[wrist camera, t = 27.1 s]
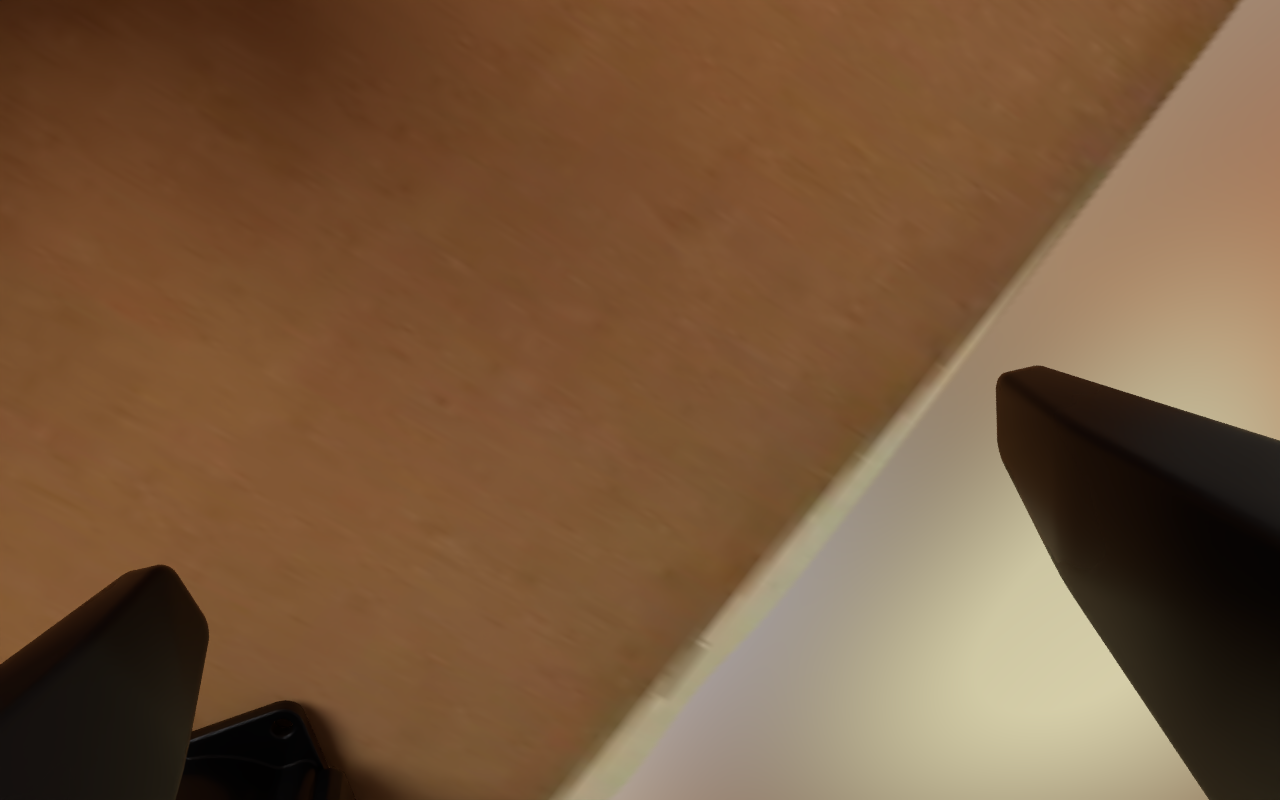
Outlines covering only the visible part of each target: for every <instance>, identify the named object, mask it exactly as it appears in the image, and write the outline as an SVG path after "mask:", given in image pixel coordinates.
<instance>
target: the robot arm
mask: <svg viewBox="0 0 1280 800" xmlns="http://www.w3.org/2000/svg"><path fill="white" fill-rule="evenodd" d="M996 411H997V442H998V448H999V452H1000V455H1001V459H1002V461H1003V463H1004V466H1005V467H1006V470H1007V471H1008V473H1009V475H1010V477H1011V479H1012V481H1013V483H1014V485H1015V487H1016V489H1017V491H1018V493H1019V495H1020V497H1021V499H1022V501H1023V503H1024V505H1025V507H1026V509H1027V511H1028V513H1029V515H1030V517H1031V519H1032V521H1033V523H1034V525H1035V527H1036V529H1037V531H1038V533H1039V535H1040V537H1041V539H1042V541H1043V543H1044V545H1045V547H1046V549H1047V551H1048V553H1049V555H1050V556H1051V559H1052V561H1053V563H1054V564H1055V566H1056V568H1057V570H1058V572H1059V574H1060V576H1061V577H1062V579H1063V581H1064V582H1065V584H1066V586H1067V587H1068V589H1069V590H1070V592H1071V594H1072V595H1073V597H1074V598H1075V600H1076V601H1077V603H1078V604H1079V606H1080V607H1081V609H1082V610H1083V612H1084V613H1085V615H1086V616H1087V618H1088V619H1089V621H1090V622H1091V624H1092V625H1093V627H1094V628H1095V630H1096V631H1097V633H1098V634H1099V636H1100V637H1101V639H1102V640H1103V642H1104V643H1105V645H1106V646H1107V648H1108V649H1109V651H1110V652H1111V654H1112V655H1113V657H1114V658H1115V660H1116V661H1117V663H1118V664H1119V666H1120V667H1121V669H1122V670H1123V672H1124V673H1125V675H1126V676H1127V678H1128V679H1129V681H1130V682H1131V684H1132V685H1133V687H1134V688H1135V690H1136V691H1137V693H1138V694H1139V696H1140V697H1141V699H1142V700H1143V701H1144V703H1145V704H1146V706H1147V708H1148V709H1149V711H1150V712H1151V714H1152V715H1153V717H1154V718H1155V719H1156V721H1157V723H1158V724H1159V726H1160V727H1161V728H1162V730H1163V731H1164V733H1165V735H1166V736H1167V737H1168V739H1169V741H1170V742H1171V744H1172V745H1173V747H1174V748H1175V749H1176V751H1177V752H1178V754H1179V755H1180V757H1181V758H1182V760H1183V761H1184V763H1185V764H1186V766H1187V767H1188V769H1189V770H1190V772H1191V773H1192V775H1193V776H1194V778H1195V779H1196V781H1197V782H1198V784H1199V785H1200V787H1201V788H1202V790H1203V791H1204V793H1205V794H1206V796H1207V797H1208V799H1209V800H1280V441H1279V440H1276V439H1273V438H1269V437H1266V436H1263V435H1260V434H1257V433H1253V432H1250V431H1247V430H1244V429H1241V428H1237V427H1234V426H1231V425H1228V424H1225V423H1222V422H1218V421H1215V420H1212V419H1209V418H1206V417H1203V416H1199V415H1196V414H1193V413H1190V412H1187V411H1184V410H1180V409H1177V408H1174V407H1171V406H1168V405H1164V404H1161V403H1158V402H1155V401H1151V400H1149V399H1145V398H1142V397H1139V396H1136V395H1133V394H1129V393H1126V392H1123V391H1120V390H1117V389H1113V388H1110V387H1107V386H1104V385H1100V384H1098V383H1095V382H1091V381H1088V380H1085V379H1082V378H1079V377H1075V376H1072V375H1069V374H1066V373H1063V372H1059V371H1056V370H1053V369H1050V368H1047V367H1044V366H1032V367H1027V368H1023V369H1018V370H1014V371H1010V372H1006V373H1003V374H1002V375H1001V376H1000V377H999V378H998V381H997V385H996ZM208 641H209V629H208V624H207V621H206V618H205V616H204V614H203V613H202V611H201V610H200V608H199V607H198V605H197V604H196V602H195V601H194V599H193V598H192V596H191V594H190V593H189V591H188V590H187V588H186V587H185V585H184V584H183V582H182V581H181V579H180V577H179V576H178V574H177V573H176V572H175V571H174V570H173V569H172V568H170V567H169V566H166V565H155V566H151V567H147V568H142V569H138V570H133V571H130V572H127V573H125V574H124V575H122V576H121V577H119V578H118V579H116V580H115V581H114V582H112V583H111V584H110V585H108V586H107V587H106V588H104V589H103V590H101V591H100V592H99V593H97V594H96V595H95V596H93V597H92V598H91V599H89V600H88V601H86V602H85V603H84V604H82V605H81V606H80V607H78V608H77V609H76V610H74V611H73V612H71V613H70V614H69V615H67V616H66V617H65V618H63V619H62V620H60V621H59V622H58V623H56V624H55V625H54V626H52V627H51V628H50V629H48V630H47V631H45V632H44V633H43V634H41V635H40V636H39V637H37V638H36V639H35V640H33V641H32V642H30V643H29V644H28V645H26V646H25V647H24V648H22V649H21V650H20V651H18V652H17V653H15V654H14V655H13V656H11V657H10V658H9V659H7V660H6V661H5V662H3V663H2V664H0V800H356V799H355V796H354V794H353V792H352V789H351V787H350V785H349V782H348V780H347V778H346V775H345V773H344V772H343V771H341V770H339V769H338V768H336V767H330V768H329V766H328V764H327V761H326V759H325V757H324V755H323V752H322V750H321V748H320V745H319V743H318V741H317V738H316V736H315V734H314V731H313V729H312V727H311V724H310V722H309V720H308V717H307V715H306V713H305V711H304V710H303V708H302V707H301V706H300V705H299V704H297V703H295V702H292V701H286V700H285V701H279V702H275V703H273V704H270V705H267V706H264V707H261V708H258V709H255V710H253V711H250V712H247V713H244V714H241V715H238V716H235V717H232V718H230V719H227V720H224V721H221V722H218V723H215V724H212V725H210V726H207V727H204V728H201V729H198V730H195V731H192V727H193V721H194V716H195V711H196V705H197V700H198V695H199V689H200V684H201V679H202V673H203V668H204V663H205V657H206V652H207V647H208ZM278 719H287V720H290V721H291V723H292V724H293V725H291V726H289V727H286V728H282V727H279V726H277V725H276V724H275V723H274V722H275V721H276V720H278Z"/></svg>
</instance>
